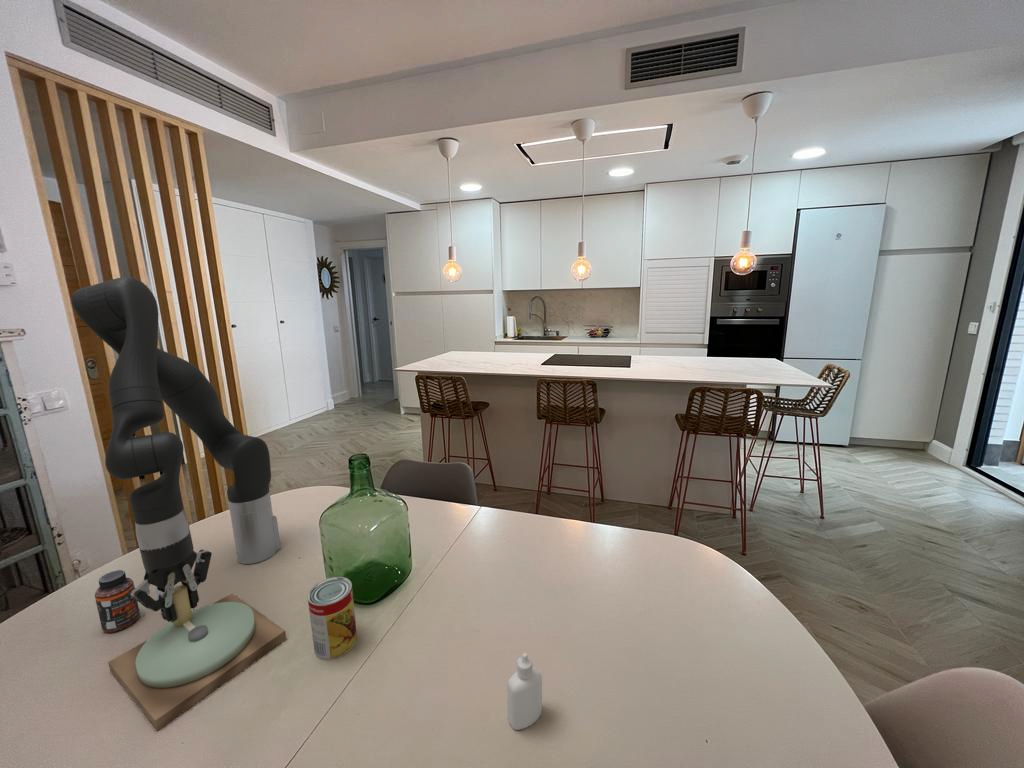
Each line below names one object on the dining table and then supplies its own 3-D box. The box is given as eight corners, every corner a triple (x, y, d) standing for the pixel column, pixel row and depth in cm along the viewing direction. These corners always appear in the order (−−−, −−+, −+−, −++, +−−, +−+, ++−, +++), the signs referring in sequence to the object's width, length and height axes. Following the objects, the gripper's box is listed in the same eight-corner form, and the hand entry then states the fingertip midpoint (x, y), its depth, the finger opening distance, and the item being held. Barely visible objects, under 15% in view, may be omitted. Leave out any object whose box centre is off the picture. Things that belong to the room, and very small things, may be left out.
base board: (233, 600, 94) (231, 592, 93) (286, 638, 83) (285, 629, 83) (110, 671, 76) (107, 660, 76) (157, 730, 65) (154, 719, 65)
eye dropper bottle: (507, 704, 69) (506, 643, 67) (540, 703, 69) (541, 642, 67) (508, 731, 65) (507, 667, 62) (543, 730, 65) (544, 666, 63)
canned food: (365, 633, 84) (360, 581, 82) (337, 664, 77) (331, 609, 75) (334, 623, 87) (328, 573, 84) (304, 653, 80) (297, 599, 77)
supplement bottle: (117, 636, 84) (105, 587, 82) (94, 631, 85) (82, 583, 83) (148, 614, 90) (138, 568, 88) (126, 610, 91) (116, 565, 89)
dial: (272, 632, 82) (267, 593, 80) (160, 707, 67) (149, 660, 65) (229, 598, 91) (223, 562, 90) (122, 657, 77) (112, 615, 75)
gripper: (191, 513, 86) (206, 585, 90) (106, 553, 73) (128, 635, 77) (215, 520, 83) (229, 593, 87) (132, 563, 70) (153, 646, 74)
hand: (182, 612), depth 82 cm, fingers closed on dial, 3 cm apart
